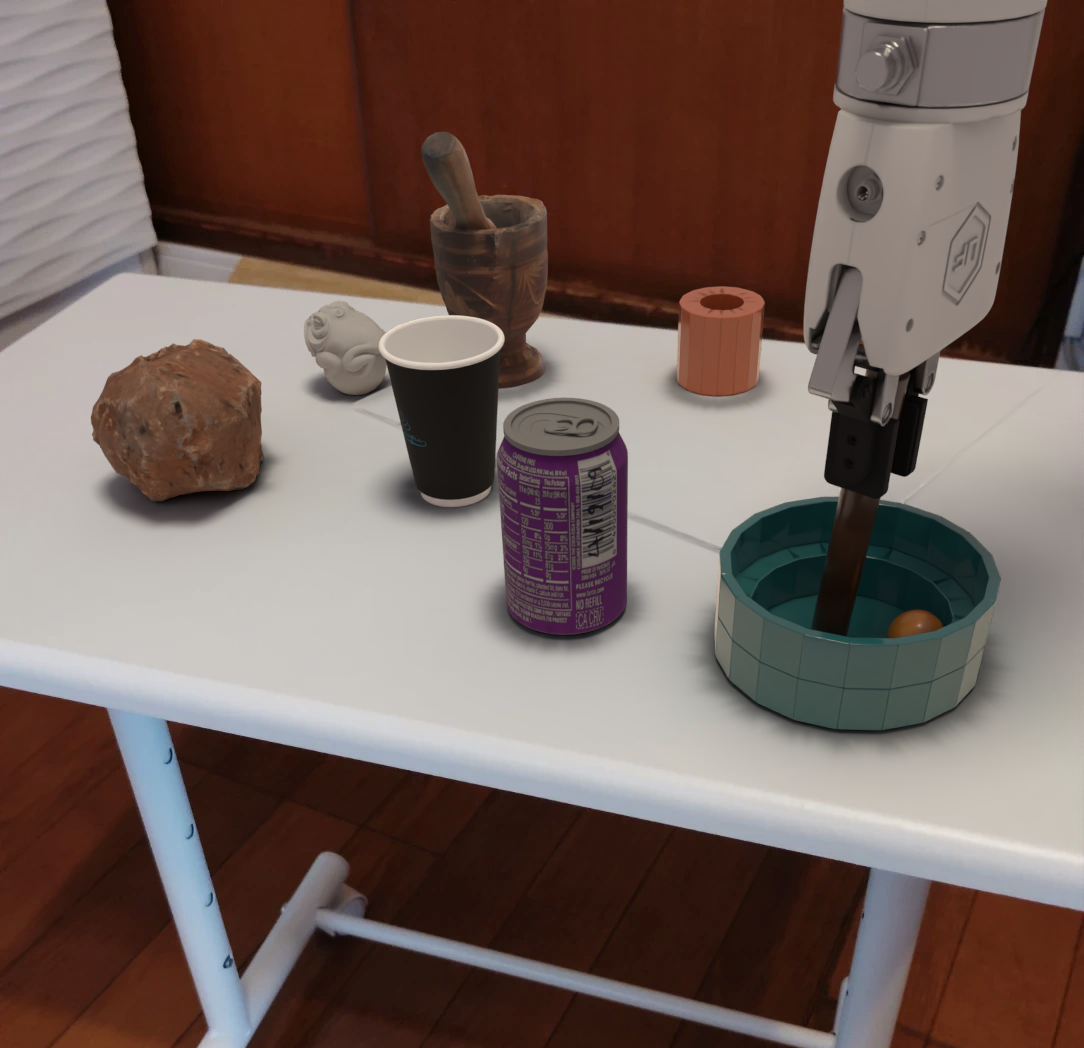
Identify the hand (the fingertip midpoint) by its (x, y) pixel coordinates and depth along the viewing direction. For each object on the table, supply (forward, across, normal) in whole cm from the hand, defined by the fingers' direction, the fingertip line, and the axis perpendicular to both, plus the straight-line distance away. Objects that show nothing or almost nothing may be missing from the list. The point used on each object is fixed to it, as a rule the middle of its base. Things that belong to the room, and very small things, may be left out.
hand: (869, 475), depth 59 cm
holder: (+11, +24, +25) cm, 37 cm away
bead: (+9, +1, -4) cm, 10 cm away
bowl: (+11, 0, 0) cm, 11 cm away
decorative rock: (+12, -10, +46) cm, 48 cm away
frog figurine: (+11, +7, +48) cm, 50 cm away
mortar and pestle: (+11, +14, +39) cm, 43 cm away
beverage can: (+11, -6, +15) cm, 20 cm away
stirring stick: (+11, 0, +1) cm, 11 cm away
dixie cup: (+11, 0, +30) cm, 32 cm away
